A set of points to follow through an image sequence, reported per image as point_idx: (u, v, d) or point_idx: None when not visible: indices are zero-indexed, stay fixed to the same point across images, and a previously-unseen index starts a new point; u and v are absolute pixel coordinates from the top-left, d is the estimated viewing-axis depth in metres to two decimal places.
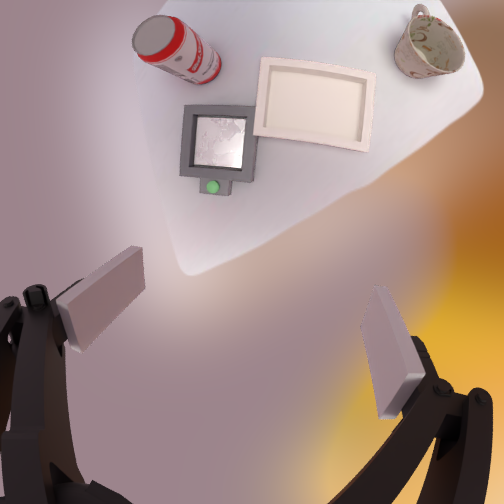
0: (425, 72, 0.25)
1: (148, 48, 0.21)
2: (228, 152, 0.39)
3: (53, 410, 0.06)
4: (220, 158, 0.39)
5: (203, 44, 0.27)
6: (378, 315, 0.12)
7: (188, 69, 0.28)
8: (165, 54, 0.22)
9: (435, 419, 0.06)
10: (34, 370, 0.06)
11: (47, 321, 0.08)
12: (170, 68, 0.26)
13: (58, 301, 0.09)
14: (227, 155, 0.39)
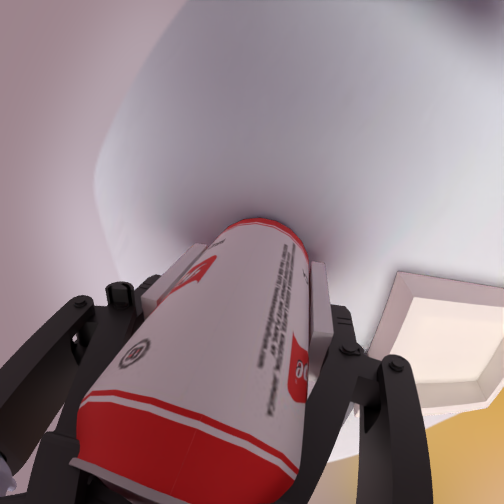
0: None
1: None
2: None
3: None
4: None
5: (308, 341, 0.10)
6: (310, 287, 0.14)
7: None
8: None
9: (348, 378, 0.08)
10: (99, 374, 0.07)
11: (127, 323, 0.09)
12: None
13: (144, 298, 0.11)
14: None
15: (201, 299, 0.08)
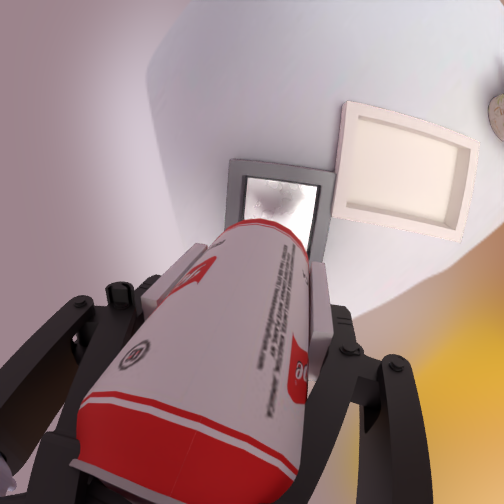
0: None
1: None
2: None
3: None
4: None
5: (308, 342, 0.10)
6: (310, 287, 0.14)
7: None
8: None
9: (348, 378, 0.08)
10: (99, 374, 0.07)
11: (127, 323, 0.09)
12: None
13: (144, 298, 0.11)
14: None
15: (201, 300, 0.08)
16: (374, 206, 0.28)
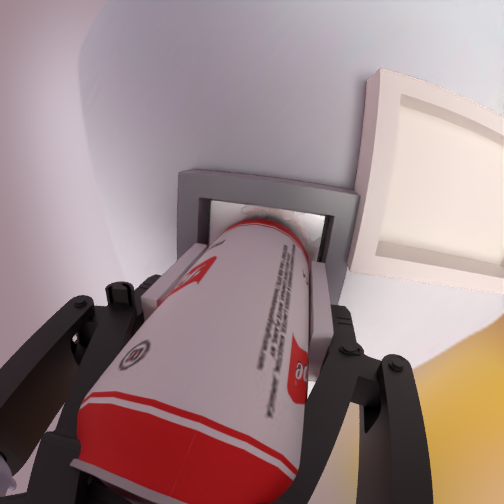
0: None
1: None
2: None
3: None
4: None
5: (308, 342, 0.10)
6: (310, 287, 0.14)
7: None
8: None
9: (348, 378, 0.08)
10: (99, 374, 0.07)
11: (127, 323, 0.09)
12: None
13: (144, 298, 0.11)
14: None
15: (201, 300, 0.08)
16: (413, 246, 0.17)
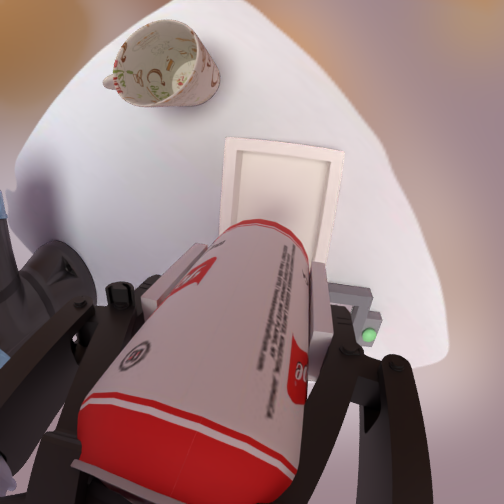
0: (207, 70, 0.21)
1: None
2: None
3: None
4: None
5: (308, 342, 0.10)
6: (310, 287, 0.14)
7: None
8: None
9: (348, 378, 0.08)
10: (99, 374, 0.07)
11: (128, 323, 0.09)
12: None
13: (144, 298, 0.11)
14: None
15: (201, 301, 0.08)
16: (314, 243, 0.31)
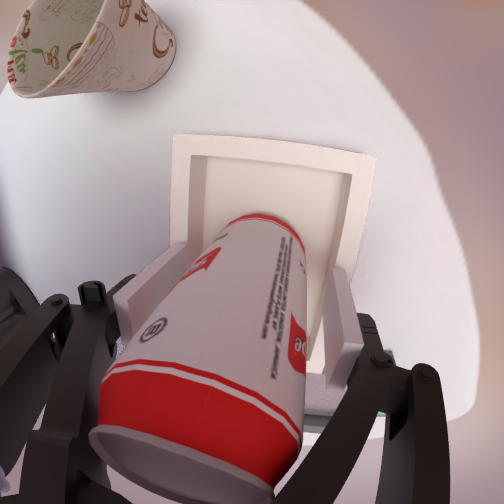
0: (139, 27, 0.10)
1: (174, 489, 0.06)
2: None
3: (92, 414, 0.06)
4: None
5: None
6: (332, 294, 0.14)
7: None
8: None
9: (378, 390, 0.07)
10: (77, 371, 0.07)
11: (101, 320, 0.09)
12: None
13: (116, 297, 0.10)
14: None
15: (210, 283, 0.09)
16: (318, 297, 0.20)
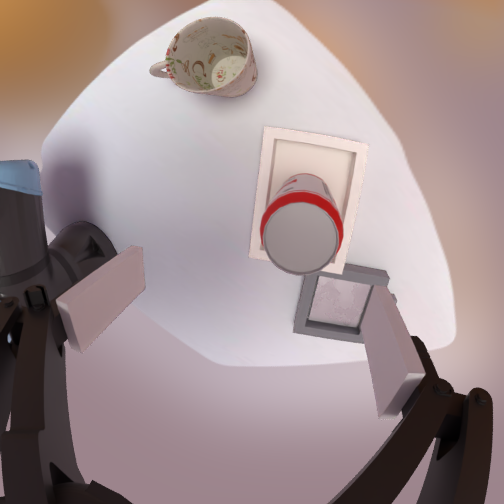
0: (252, 65, 0.23)
1: (292, 260, 0.19)
2: (352, 295, 0.36)
3: (53, 410, 0.06)
4: (357, 303, 0.36)
5: None
6: (378, 315, 0.12)
7: None
8: None
9: (435, 419, 0.06)
10: (34, 370, 0.06)
11: (47, 321, 0.08)
12: None
13: (58, 301, 0.09)
14: (355, 296, 0.36)
15: (301, 183, 0.22)
16: None
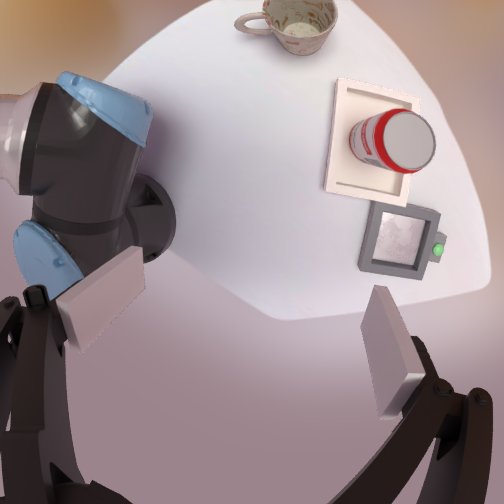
0: None
1: (404, 158, 0.20)
2: (410, 231, 0.37)
3: (53, 410, 0.06)
4: (414, 239, 0.37)
5: None
6: (378, 315, 0.12)
7: None
8: (417, 170, 0.21)
9: (435, 419, 0.06)
10: (33, 370, 0.06)
11: (47, 321, 0.08)
12: None
13: (58, 301, 0.09)
14: (412, 232, 0.37)
15: None
16: None
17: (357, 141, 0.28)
